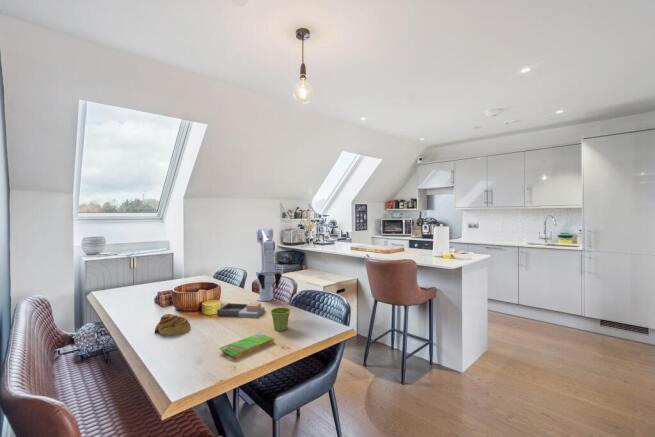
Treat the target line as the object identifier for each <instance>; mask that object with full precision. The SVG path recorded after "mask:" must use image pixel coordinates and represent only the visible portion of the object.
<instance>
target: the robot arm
mask: <svg viewBox="0 0 655 437" xmlns="http://www.w3.org/2000/svg"><path fill="white" fill-rule="evenodd" d="M273 237H274V229H273V228H257V229H256V242H257V243H258V244H260V252H261V253H260V254H261V255H260V257H261V269H260V270H259V271H257V272H256V273H255V274H256V281H257V282H256V284H257V285H258V286H259V298H257V299H256V301H257V302H259V301H260V302H271V300H273V299H274V298H275V296H274V287H273V284H274V282H275V289H278V288H279V285H280V281H281V278H282V276H283V275H284V270H282V269H278V270H276V268H275V267H276V264H275V252H276V251H275V250H276V243H275V240H273Z"/></svg>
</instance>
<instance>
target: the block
mask: <svg viewBox="0 0 655 437" xmlns="http://www.w3.org/2000/svg"><path fill="white" fill-rule="evenodd" d="M261 307H262V303H261V302H250V303H247V306H246V310H248V311H257V310H259V309H260V308H261Z"/></svg>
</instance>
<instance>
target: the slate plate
mask: <svg viewBox="0 0 655 437" xmlns="http://www.w3.org/2000/svg"><path fill="white" fill-rule="evenodd" d="M265 308H266V307H265V306H261V308H260V309H259V310H257V311H248V310H246V307H245V308H244V309H243V310H241V311H240V312H239V313H238V317H239V318H258V317H259V316H260V315H261V314H262V313H264V312H265V311H266V310H265Z"/></svg>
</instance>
